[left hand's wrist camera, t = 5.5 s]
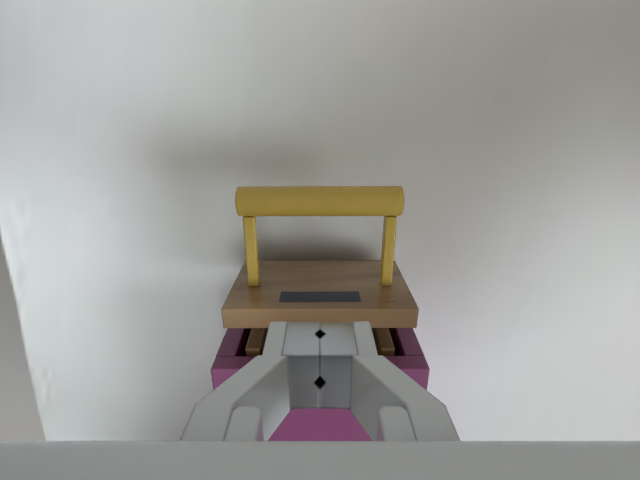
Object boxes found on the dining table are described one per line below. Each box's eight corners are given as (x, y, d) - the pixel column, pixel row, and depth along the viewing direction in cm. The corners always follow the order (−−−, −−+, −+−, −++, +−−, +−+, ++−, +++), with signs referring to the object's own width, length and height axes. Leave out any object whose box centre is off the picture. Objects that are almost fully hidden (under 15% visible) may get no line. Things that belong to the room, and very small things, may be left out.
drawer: (237, 175, 21) (208, 199, 16) (401, 174, 21) (431, 198, 16) (261, 455, 30) (248, 537, 24) (378, 455, 30) (392, 537, 24)
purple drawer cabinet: (242, 291, 26) (210, 369, 18) (396, 291, 26) (430, 368, 18) (260, 478, 33) (241, 591, 25) (380, 477, 33) (399, 591, 25)
